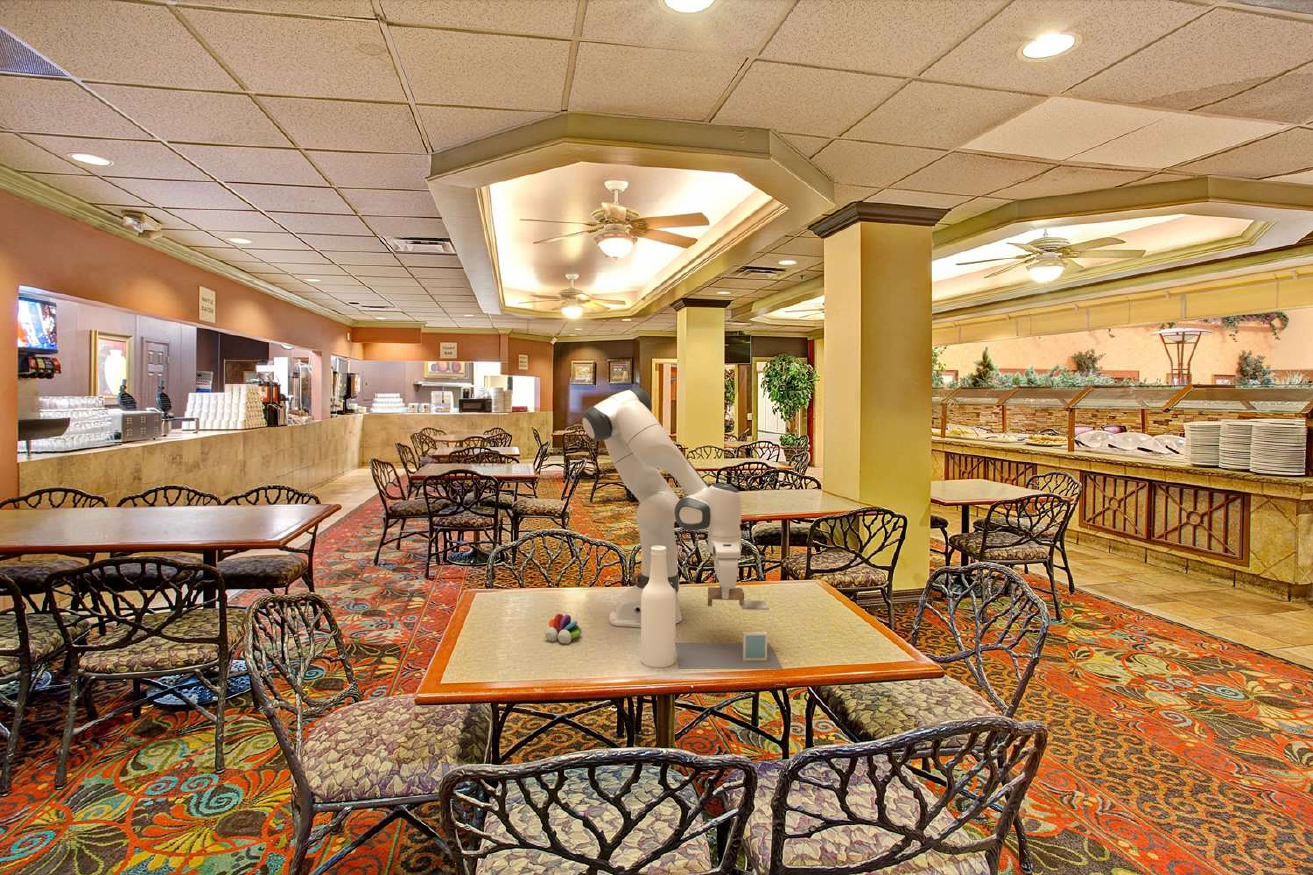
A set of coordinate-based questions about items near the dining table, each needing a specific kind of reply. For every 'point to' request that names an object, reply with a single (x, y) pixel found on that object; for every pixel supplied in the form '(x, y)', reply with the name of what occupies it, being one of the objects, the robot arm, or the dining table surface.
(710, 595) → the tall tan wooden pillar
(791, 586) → the dining table surface
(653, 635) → the alcohol
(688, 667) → the mat
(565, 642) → the multicoloured ball cluster
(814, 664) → the dining table surface
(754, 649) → the tile
